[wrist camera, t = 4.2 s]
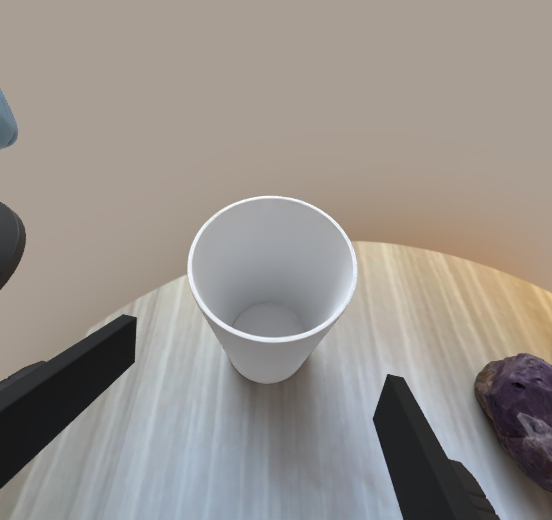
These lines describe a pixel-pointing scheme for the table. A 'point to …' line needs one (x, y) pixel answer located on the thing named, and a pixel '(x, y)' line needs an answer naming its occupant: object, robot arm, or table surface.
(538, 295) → the table surface
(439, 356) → the table surface
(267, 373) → the cup
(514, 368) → the rock
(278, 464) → the table surface
